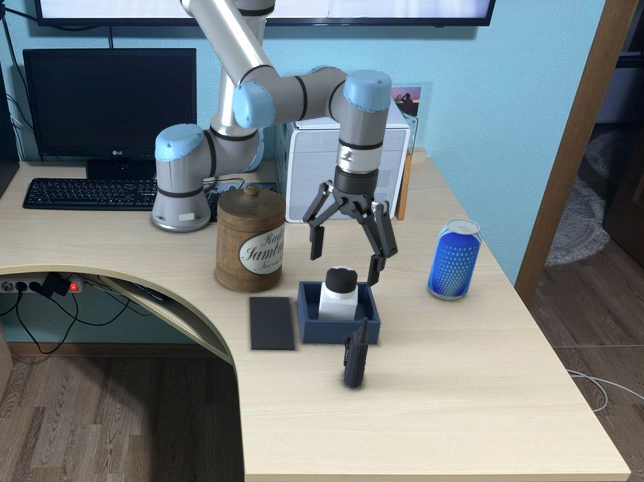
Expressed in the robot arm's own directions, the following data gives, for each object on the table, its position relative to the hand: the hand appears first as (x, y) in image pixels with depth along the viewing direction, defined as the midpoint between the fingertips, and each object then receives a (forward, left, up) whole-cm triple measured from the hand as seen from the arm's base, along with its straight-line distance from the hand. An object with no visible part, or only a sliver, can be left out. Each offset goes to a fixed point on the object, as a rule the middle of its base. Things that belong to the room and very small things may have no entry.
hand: (343, 270), depth 130 cm
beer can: (-12, +25, -13) cm, 31 cm away
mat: (0, -13, -13) cm, 18 cm away
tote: (0, 0, -13) cm, 13 cm away
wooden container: (-18, -18, -13) cm, 28 cm away
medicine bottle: (0, 0, -12) cm, 12 cm away
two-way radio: (+18, 0, -13) cm, 22 cm away
